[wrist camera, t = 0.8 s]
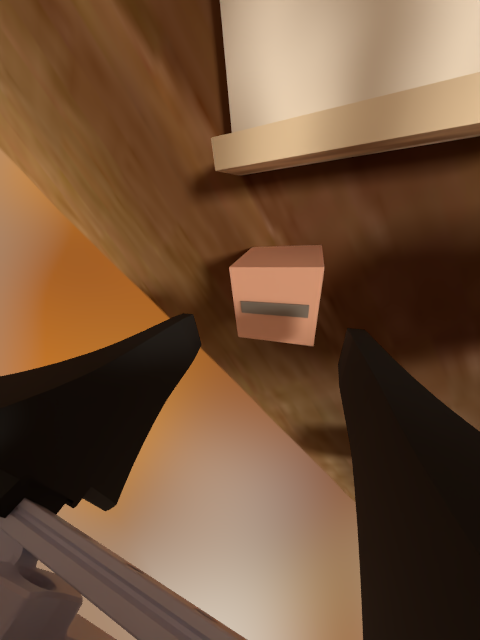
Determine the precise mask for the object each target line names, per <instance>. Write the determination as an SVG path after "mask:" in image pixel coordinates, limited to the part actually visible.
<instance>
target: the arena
mask: <svg viewBox="0 0 480 640" xmlns="http://www.w3.org/2000/svg"><path fill="white" fill-rule="evenodd" d="M220 7H221V18H222V29H223V40H224V52H225V63H226V74H227V85H228V96H229V107H230V118H231V129H232V133H229V134H225V135H221V136H217V137H213V138H211V142H212V149H213V157H214V164H215V171H219V172H224V173H229V174H234V175H239V176H241V175H247V174H253V173H259V172H265V171H271V170H277V169H283V168H289V167H295V166H302V165H308V164H314V163H320V162H326V161H332V160H338V159H344V158H350V157H356V156H362V155H368V154H374V153H380V152H386V151H393V150H399V149H405V148H411V147H417V146H423V145H429V144H435V143H441V142H447V141H453V140H459V139H465V138H471V137H477V136H480V0H220Z"/></svg>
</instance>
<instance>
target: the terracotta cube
mask: <svg viewBox="0 0 480 640" xmlns="http://www.w3.org/2000/svg"><path fill="white" fill-rule="evenodd" d="M229 271H230V278H231V286H232V293H233V301H234V308H235V316H236V323H237V331H238V337H243V338H251V339H259V340H267V341H275V342H283V343H291V344H299V345H307V346H313V345H314V338H315V331H316V324H317V317H318V310H319V303H320V295H321V288H322V281H323V274H324V259H323V251H322V245H302V246H274V247H252V248H251V249H249V250H248V251H247V252H246V253H245V254H244V255H243V256H241V257H240V258H239V259H238V260H237V261H236V262H235V263H233V264H232V265H231V266H230V267H229Z"/></svg>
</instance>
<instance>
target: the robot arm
mask: <svg viewBox="0 0 480 640" xmlns="http://www.w3.org/2000/svg"><path fill="white" fill-rule="evenodd" d="M200 346H201V341H200V337H199V334H198V330H197V327H196V323H195V319H194V316H193V314H184V313H183V314H180V315H178V316H175V317H173V318H170V319H168V320H166V321H164V322H162V323H160V324H158V325H155V326H153V327H151V328H149V329H147V330H145V331H143V332H140V333H138V334H136V335H134V336H132V337H129V338H127V339H124V340H122V341H120V342H118V343H115V344H113V345H110V346H107V347H105V348H102V349H99V350H97V351H94V352H91V353H88V354H85V355H81V356H78V357H75V358H72V359H69V360H65V361H62V362H59V363H55V364H51V365H48V366H44V367H40V368H36V369H32V370H28V371H24V372H19V373H15V374H10V375H6V376H0V640H116V639H114V638H113V637H112V636H110V635H109V634H107V633H106V632H104V631H103V630H101V629H100V628H98V627H97V626H95V625H94V624H92V623H91V622H89V621H88V620H86V619H85V618H83V617H81V616H80V615H79V614H77V612H78V610H79V608H80V606H81V605H82V596H81V594H82V595H83V596H84V597H85V598H87V599H88V600H89V601H90V602H91V603H93V604H94V605H95V606H96V607H98V608H99V609H100V610H101V611H103V612H104V613H105V614H106V615H108V616H109V617H110V618H111V619H112V620H114V621H115V622H116V623H117V624H119V625H120V626H121V627H122V628H123V629H125V630H126V631H127V632H128V633H130V634H131V635H132V636H133V637H135V638H136V639H137V640H246V639H245V638H244V637H242V636H241V635H239V634H237V633H236V632H235V631H233V630H231V629H230V628H228V627H227V626H225V625H224V624H222V623H221V622H219V621H218V620H216V619H215V618H213V617H211V616H210V615H209V614H207V613H205V612H204V611H202V610H201V609H199V608H198V607H196V606H195V605H193V604H192V603H190V602H189V601H187V600H186V599H184V598H182V597H181V596H179V595H178V594H176V593H175V592H173V591H172V590H170V589H169V588H167V587H166V586H164V585H162V584H161V583H160V582H158V581H156V580H155V579H153V578H152V577H150V576H149V575H147V574H146V573H144V572H143V571H141V570H140V569H138V568H136V567H135V566H133V565H132V564H131V563H129V562H127V561H126V560H124V559H123V558H121V557H120V556H118V555H117V554H115V553H114V552H112V551H111V550H109V549H107V548H106V547H105V546H103V545H101V544H100V543H98V542H97V541H95V540H94V539H92V538H91V537H89V536H88V535H86V534H85V533H83V532H82V531H80V530H79V529H77V528H75V527H74V526H72V525H71V524H69V523H68V522H66V521H65V520H63V519H62V518H60V517H59V516H57V515H56V514H57V513H58V512H59V510H60V509H61V508H62V506H63V505H64V504H67V505H69V506H71V507H72V508H74V507H76V506H77V505H78V503H79V502H80V501H81V499H82V498H83V499H85V500H86V501H88V502H90V503H92V504H94V505H95V506H97V507H99V508H101V509H102V510H104V511H107V510H109V509H111V508H112V507H114V506H115V505H116V504H117V502H118V499H119V497H120V494H121V492H122V490H123V487H124V485H125V483H126V480H127V478H128V476H129V473H130V471H131V468H132V466H133V464H134V462H135V460H136V458H137V455H138V454H139V451H140V449H141V447H142V445H143V443H144V441H145V439H146V437H147V435H148V433H149V431H150V429H151V427H152V425H153V423H154V422H155V420H156V418H157V416H158V414H159V412H160V411H161V409H162V407H163V405H164V404H165V402H166V400H167V399H168V397H169V396H170V394H171V393H172V391H173V390H174V388H175V387H176V385H177V384H178V383H179V381H180V380H181V378H182V377H183V375H184V374H185V373H186V371H187V370H188V368H189V367H190V365H191V364H192V362H193V360H194V359H195V357H196V355H197V353H198V351H199V349H200ZM338 371H339V387H340V393H341V398H342V404H343V409H344V415H345V420H346V425H347V430H348V436H349V441H350V448H351V454H352V464H353V475H354V486H355V499H356V512H357V526H358V542H359V559H360V576H361V598H362V621H363V640H480V432H479V431H478V430H477V429H475V428H474V427H473V426H471V425H470V424H469V423H468V422H466V421H465V420H464V419H462V418H461V417H460V416H459V415H457V414H456V413H455V412H453V411H452V410H451V409H450V408H448V407H447V406H446V405H445V404H444V403H442V402H441V401H440V400H439V399H437V398H436V397H435V396H434V395H433V394H432V393H430V392H429V391H428V390H427V389H426V388H425V387H424V386H422V385H421V384H420V383H419V382H418V381H417V380H416V379H414V378H413V377H412V376H411V375H410V374H409V373H408V372H407V371H406V370H405V369H404V368H403V367H401V366H400V365H399V364H398V363H397V362H396V361H395V360H394V359H393V358H392V357H391V356H390V355H389V354H388V353H387V352H386V351H385V350H384V349H383V348H382V347H381V346H380V345H379V344H378V343H377V342H376V341H375V340H374V339H373V338H372V337H371V336H370V335H369V334H368V333H367V332H366V331H365V330H361V329H350V328H347V331H346V335H345V339H344V343H343V347H342V351H341V355H340V359H339V363H338ZM38 560H40V561H41V562H42V563H43V564H45V565H46V566H47V567H48V568H49V569H51V570H52V571H53V572H54V573H52V572H49V571H46V570H42V569H39V568H36V564H37V561H38ZM55 573H56V574H55Z"/></svg>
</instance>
